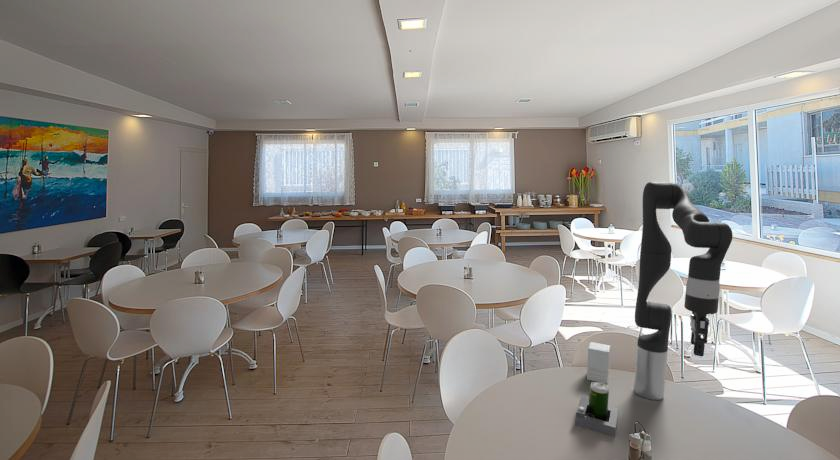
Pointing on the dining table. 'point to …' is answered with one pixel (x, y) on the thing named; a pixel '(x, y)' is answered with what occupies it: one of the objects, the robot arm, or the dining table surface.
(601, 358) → the supplement box
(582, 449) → the dining table surface
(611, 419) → the grey square frame
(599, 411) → the beer can
